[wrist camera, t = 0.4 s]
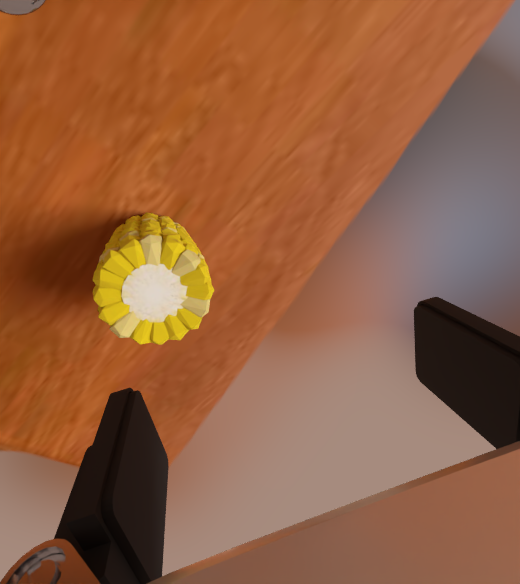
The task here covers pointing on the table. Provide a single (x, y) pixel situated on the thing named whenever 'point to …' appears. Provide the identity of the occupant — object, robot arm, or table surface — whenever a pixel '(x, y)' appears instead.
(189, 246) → the food
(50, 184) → the table surface
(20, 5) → the wine glass
